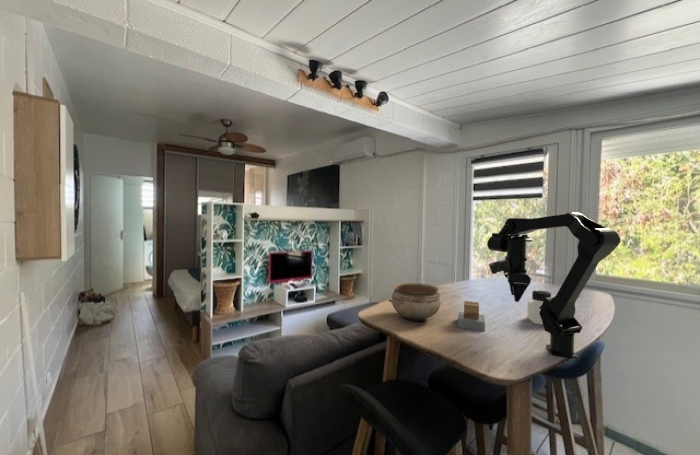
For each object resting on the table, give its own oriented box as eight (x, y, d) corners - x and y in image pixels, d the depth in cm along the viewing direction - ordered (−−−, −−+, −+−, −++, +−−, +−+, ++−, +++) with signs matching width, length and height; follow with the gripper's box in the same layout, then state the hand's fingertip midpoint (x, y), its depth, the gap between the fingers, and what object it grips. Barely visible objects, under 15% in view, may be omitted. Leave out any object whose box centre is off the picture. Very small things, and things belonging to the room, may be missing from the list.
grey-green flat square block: (484, 331, 102) (484, 322, 102) (457, 327, 105) (457, 318, 105) (483, 322, 110) (483, 314, 110) (458, 319, 114) (458, 311, 114)
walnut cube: (478, 319, 104) (479, 306, 104) (463, 317, 106) (464, 304, 106) (478, 315, 109) (478, 302, 109) (464, 313, 111) (464, 300, 111)
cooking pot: (404, 332, 101) (405, 297, 100) (375, 315, 118) (376, 285, 117) (456, 320, 112) (457, 289, 112) (423, 307, 129) (423, 280, 129)
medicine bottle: (555, 325, 108) (556, 294, 107) (534, 324, 109) (535, 292, 109) (546, 319, 115) (547, 289, 114) (526, 317, 116) (527, 288, 116)
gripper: (489, 250, 112) (488, 289, 113) (492, 255, 95) (491, 302, 96) (522, 251, 108) (520, 292, 109) (531, 257, 91) (530, 306, 91)
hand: (514, 298), depth 101 cm, fingers open, 9 cm apart
